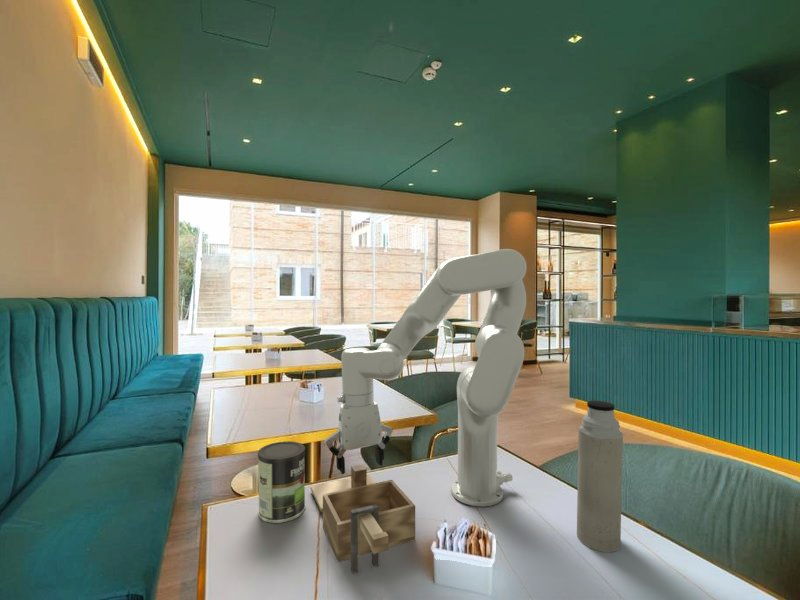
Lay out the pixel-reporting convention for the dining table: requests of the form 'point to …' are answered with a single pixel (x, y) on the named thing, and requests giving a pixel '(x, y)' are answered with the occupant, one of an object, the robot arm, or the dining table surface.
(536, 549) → the dining table surface
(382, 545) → the tan rectangular block
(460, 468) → the robot arm
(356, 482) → the lid
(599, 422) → the thermos bottle
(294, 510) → the coffee can
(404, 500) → the wooden box
